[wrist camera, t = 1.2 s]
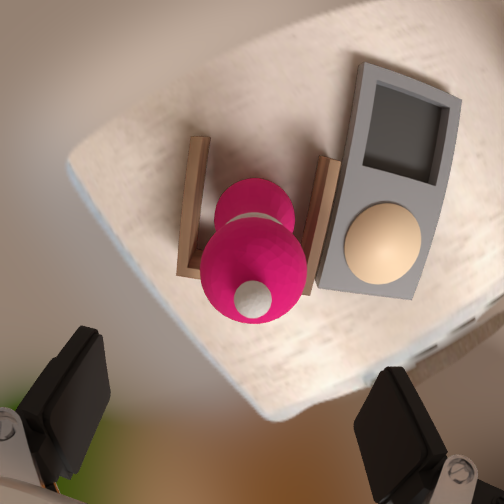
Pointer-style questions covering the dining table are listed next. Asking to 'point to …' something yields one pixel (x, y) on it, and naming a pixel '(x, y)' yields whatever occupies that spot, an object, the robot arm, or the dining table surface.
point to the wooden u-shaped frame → (193, 199)
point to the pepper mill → (253, 254)
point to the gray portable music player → (389, 185)
